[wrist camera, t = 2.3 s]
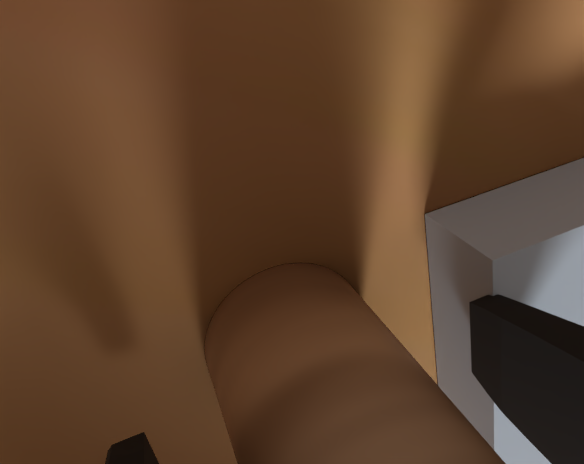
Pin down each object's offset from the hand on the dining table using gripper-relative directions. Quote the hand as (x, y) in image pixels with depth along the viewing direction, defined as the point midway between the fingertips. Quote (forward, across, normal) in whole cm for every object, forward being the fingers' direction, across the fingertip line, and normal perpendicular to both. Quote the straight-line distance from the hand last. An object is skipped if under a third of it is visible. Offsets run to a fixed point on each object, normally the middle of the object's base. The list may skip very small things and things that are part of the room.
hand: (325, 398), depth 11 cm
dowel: (+2, 0, 0) cm, 2 cm away
